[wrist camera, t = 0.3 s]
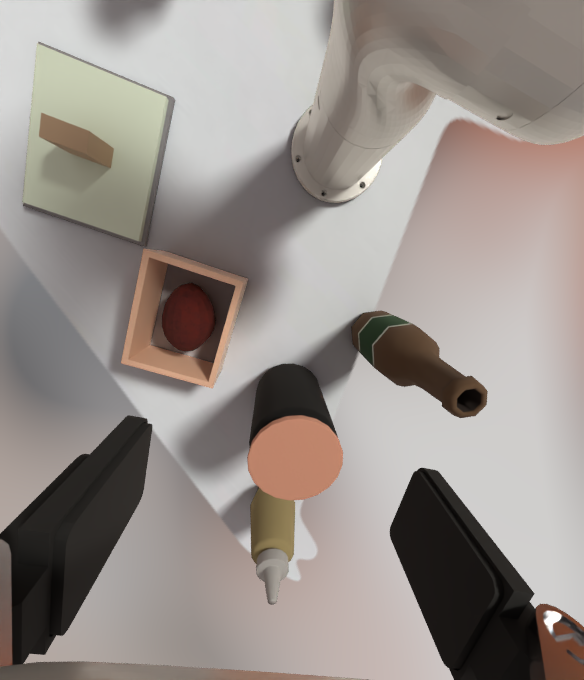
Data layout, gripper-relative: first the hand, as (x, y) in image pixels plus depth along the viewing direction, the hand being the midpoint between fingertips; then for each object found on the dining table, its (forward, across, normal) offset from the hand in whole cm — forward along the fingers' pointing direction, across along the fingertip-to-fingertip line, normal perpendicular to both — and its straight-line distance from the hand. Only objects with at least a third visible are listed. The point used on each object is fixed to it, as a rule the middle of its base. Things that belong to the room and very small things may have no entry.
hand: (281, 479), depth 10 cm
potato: (+36, +12, +4) cm, 38 cm away
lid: (+35, +28, -15) cm, 47 cm away
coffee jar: (+36, -5, +13) cm, 39 cm away
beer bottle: (+36, -16, 0) cm, 40 cm away
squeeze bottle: (+36, -8, +34) cm, 50 cm away
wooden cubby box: (+36, +12, +4) cm, 38 cm away
